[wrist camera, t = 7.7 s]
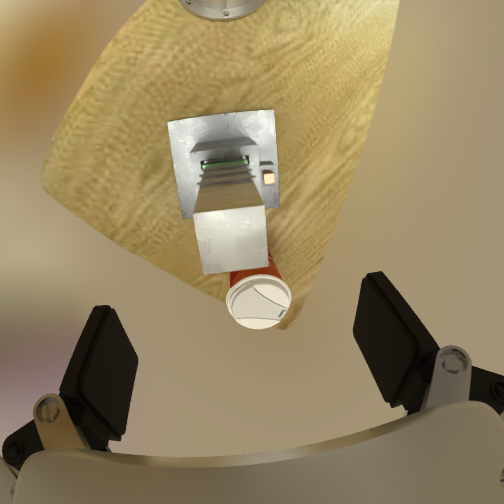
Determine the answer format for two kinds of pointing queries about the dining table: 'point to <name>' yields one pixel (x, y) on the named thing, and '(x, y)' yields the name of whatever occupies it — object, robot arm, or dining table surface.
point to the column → (230, 217)
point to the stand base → (225, 151)
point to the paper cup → (258, 296)
